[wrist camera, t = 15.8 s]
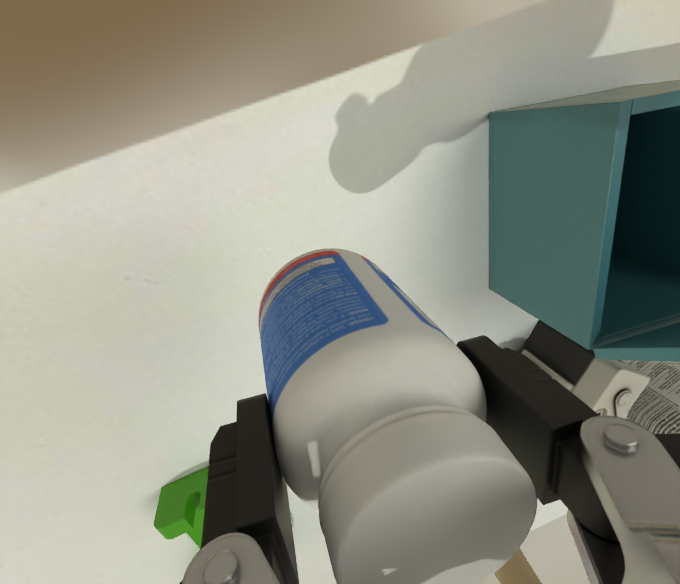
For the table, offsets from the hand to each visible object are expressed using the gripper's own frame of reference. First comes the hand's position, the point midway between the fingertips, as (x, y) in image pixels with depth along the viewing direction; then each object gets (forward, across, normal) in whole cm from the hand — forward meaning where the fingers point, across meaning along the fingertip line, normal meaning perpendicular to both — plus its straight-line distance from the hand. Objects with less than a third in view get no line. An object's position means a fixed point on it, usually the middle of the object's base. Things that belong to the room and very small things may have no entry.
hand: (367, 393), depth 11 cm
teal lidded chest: (+22, -24, +2) cm, 33 cm away
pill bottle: (+6, 0, 0) cm, 6 cm away
